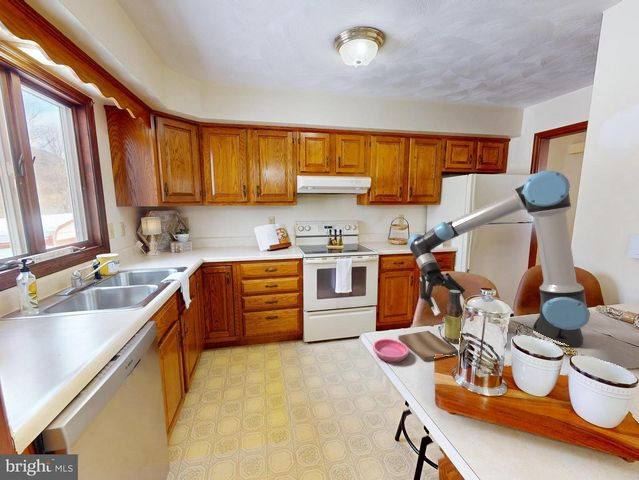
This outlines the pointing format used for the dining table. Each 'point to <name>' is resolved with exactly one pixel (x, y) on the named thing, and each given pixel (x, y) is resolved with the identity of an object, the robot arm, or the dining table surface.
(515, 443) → the dining table surface
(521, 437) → the dining table surface
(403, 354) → the saucer
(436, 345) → the walnut serving board
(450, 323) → the sauce bottle
